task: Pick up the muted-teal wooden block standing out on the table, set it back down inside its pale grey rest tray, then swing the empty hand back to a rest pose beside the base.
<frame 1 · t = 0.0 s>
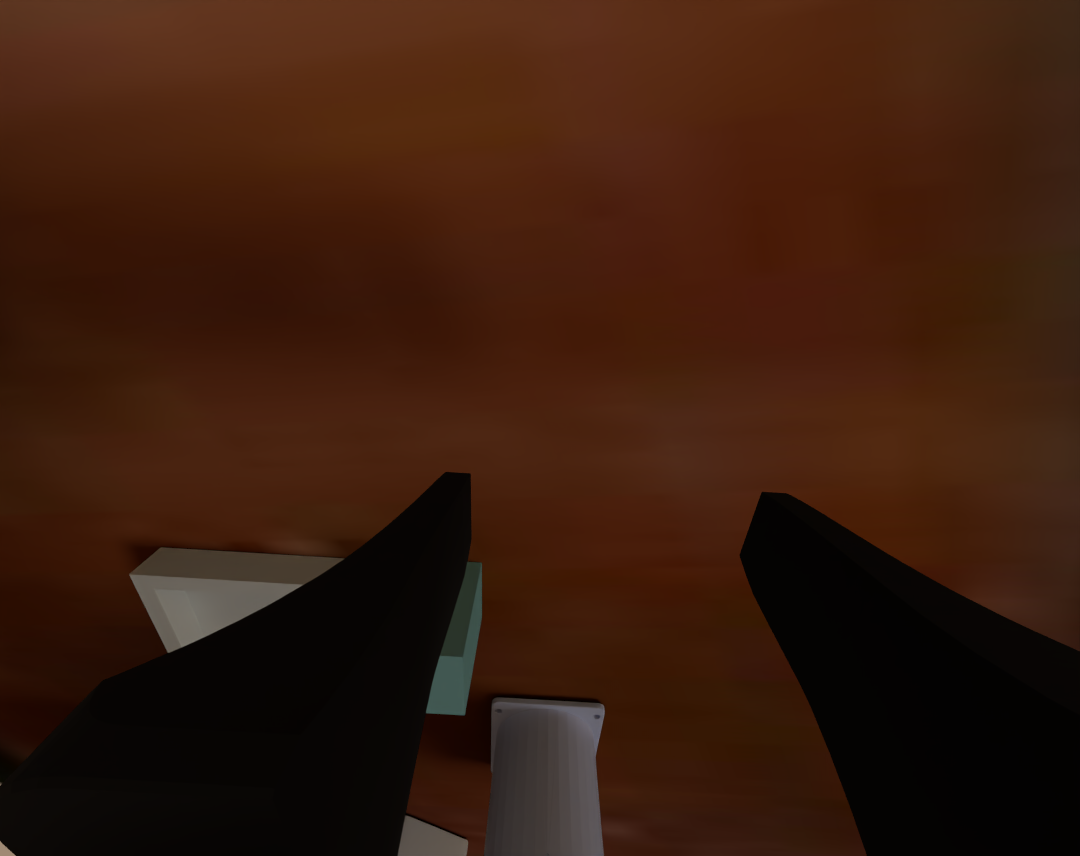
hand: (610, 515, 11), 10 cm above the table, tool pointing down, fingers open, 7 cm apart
block: (444, 588, 26), on the table
milk carton: (417, 835, 41), on the table
tray: (275, 618, 27), on the table
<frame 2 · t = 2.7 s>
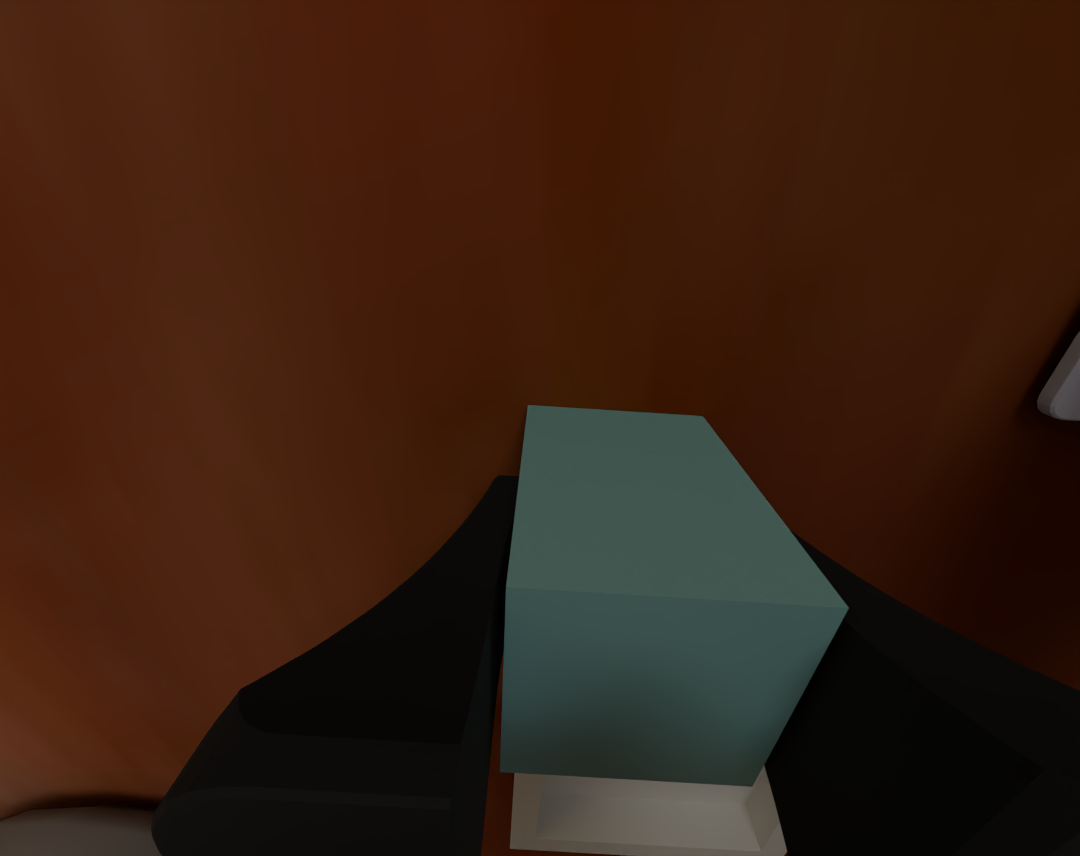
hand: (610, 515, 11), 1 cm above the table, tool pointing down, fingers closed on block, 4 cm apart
block: (604, 483, 12), on the table, touching gripper
tray: (657, 722, 17), on the table
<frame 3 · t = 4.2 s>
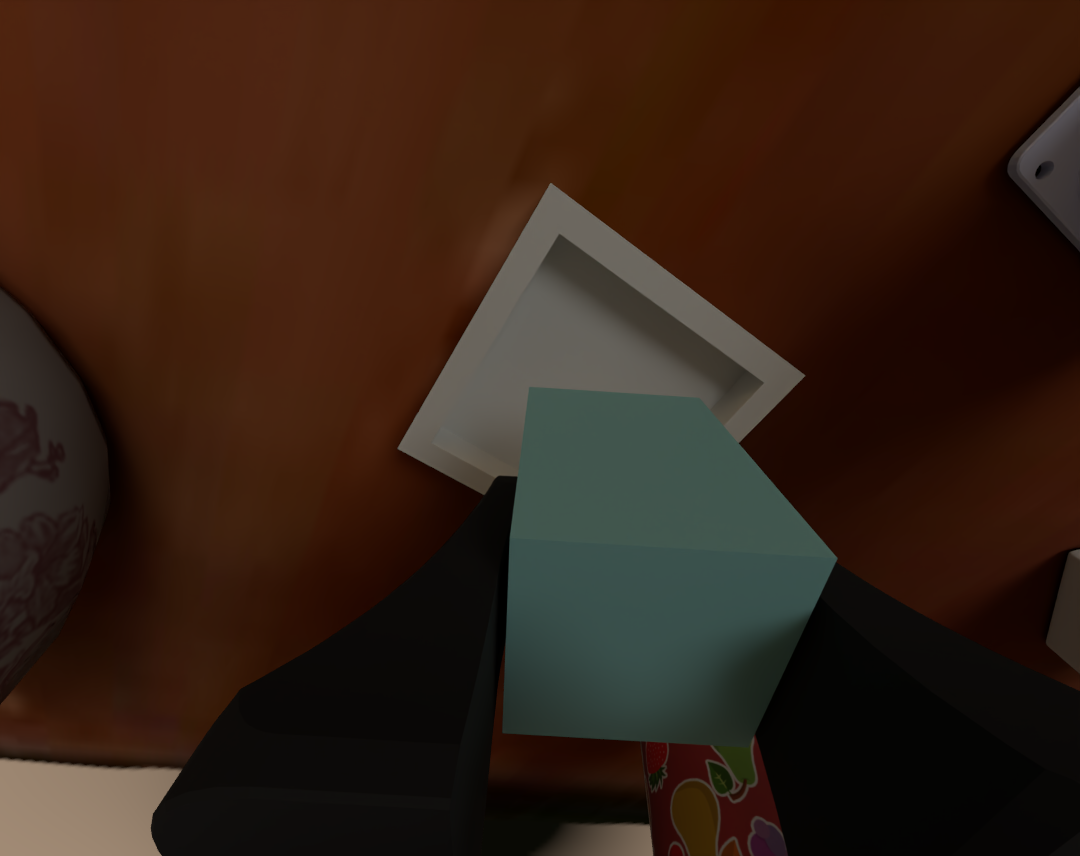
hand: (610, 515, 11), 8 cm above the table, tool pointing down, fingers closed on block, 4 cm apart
block: (603, 465, 12), point 6 cm above the table, touching gripper
smoothie: (686, 664, 26), on the table
tray: (586, 393, 18), on the table
when the fingers open (4 cm above the table, at t = 5.8 s): block drops 1 cm, resting on tray.
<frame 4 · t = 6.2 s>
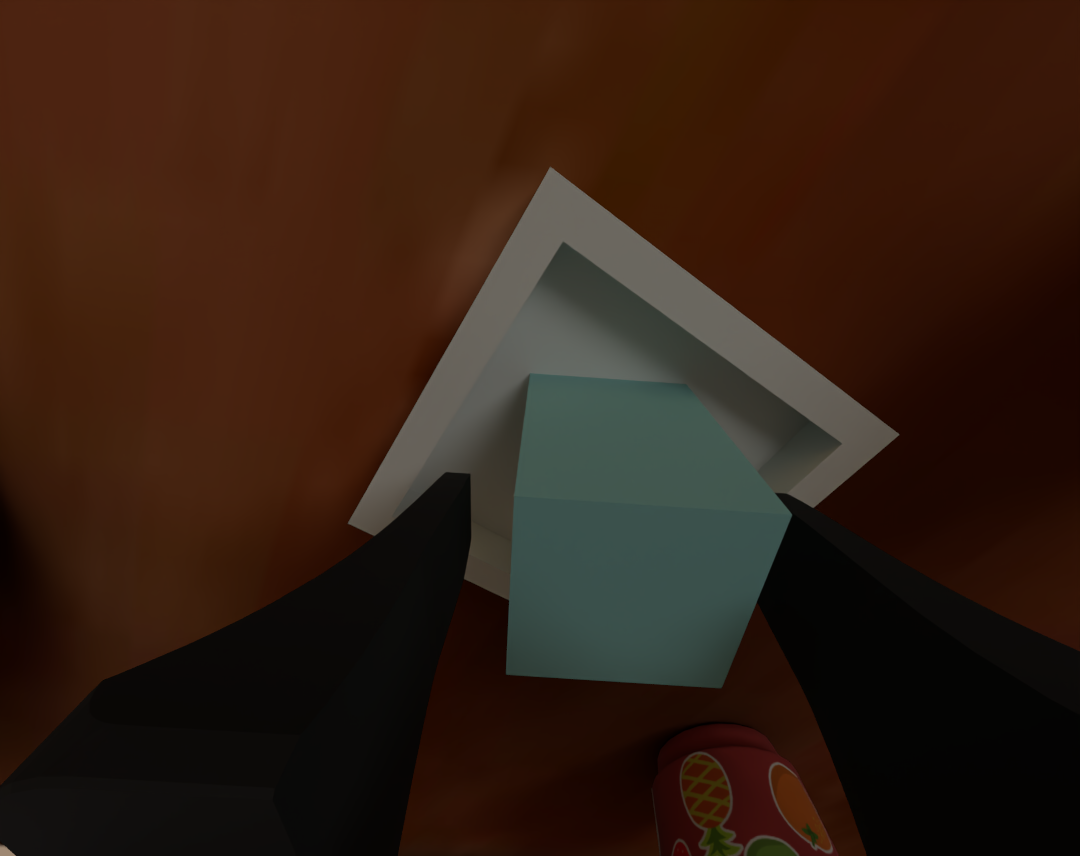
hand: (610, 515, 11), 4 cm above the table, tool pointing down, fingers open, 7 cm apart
block: (598, 447, 13), point 1 cm above the table, touching tray
smoothie: (712, 749, 22), on the table
tray: (596, 446, 14), on the table
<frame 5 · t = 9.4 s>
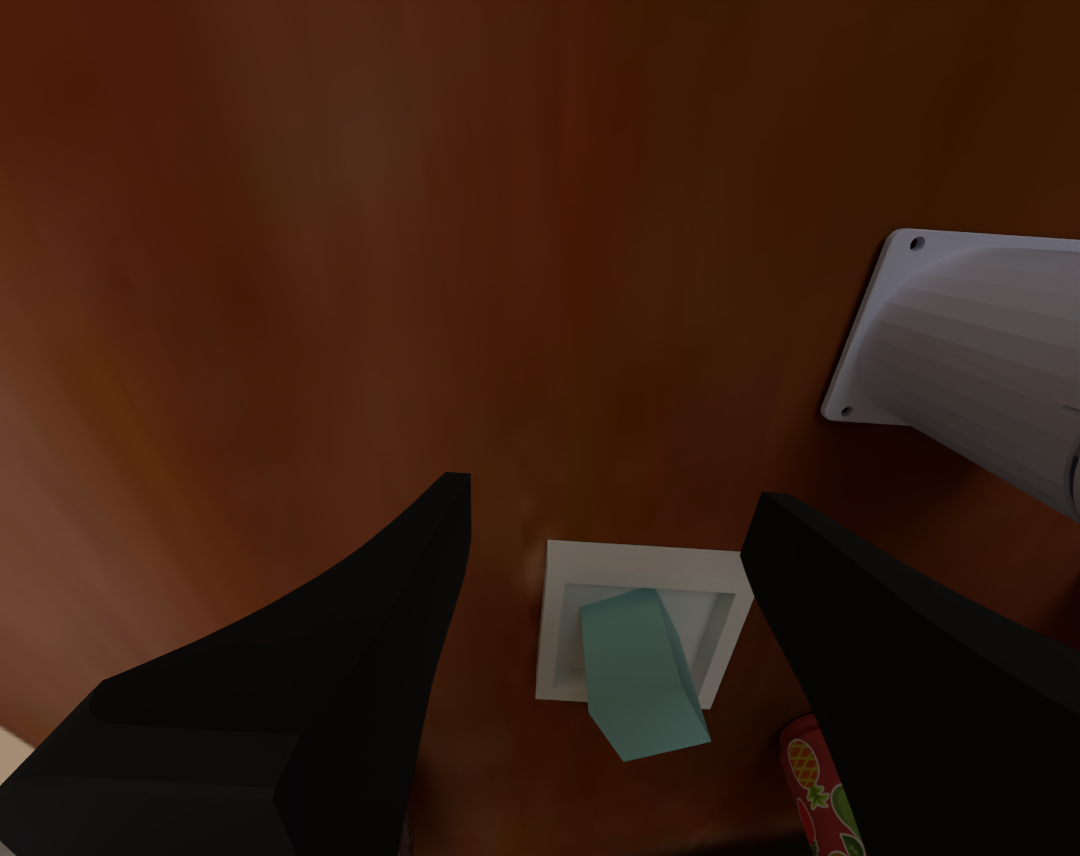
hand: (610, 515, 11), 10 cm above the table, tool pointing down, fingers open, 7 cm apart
block: (630, 620, 26), point 1 cm above the table, touching tray
smoothie: (816, 729, 31), on the table
chamber pot: (286, 736, 33), on the table
tray: (630, 614, 26), on the table
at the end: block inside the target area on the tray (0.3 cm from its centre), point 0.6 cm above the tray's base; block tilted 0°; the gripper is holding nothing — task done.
